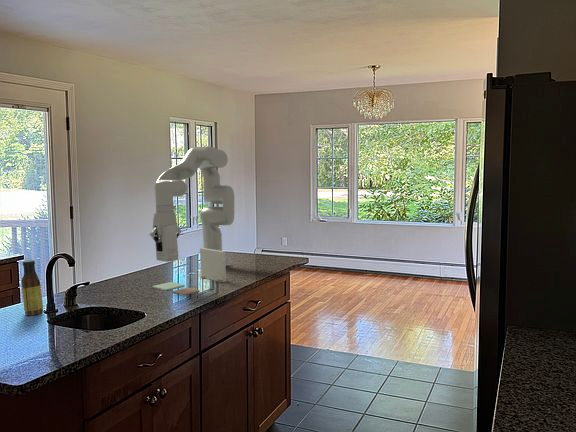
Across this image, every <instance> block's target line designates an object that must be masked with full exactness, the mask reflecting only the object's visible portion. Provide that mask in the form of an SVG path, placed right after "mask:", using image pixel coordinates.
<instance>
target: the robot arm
mask: <svg viewBox="0 0 576 432" xmlns="http://www.w3.org/2000/svg"><path fill="white" fill-rule="evenodd" d="M228 159H229V158H228V154H227V153H226V152H225V151H224V150H222V149H219V148H216V147H213V146H193V147H191V148H190V149H188V150H187V152H186V153H185V155H184V156H183V158H182V159H181V160H180V161H179V163H178V164H175V165H174V166H172V167H171V168H168V169H167V170H165V171H163V172H162V174H161V175H160V176H159V177H158V178H157V180H156V181H155V183H154V192H155V193H154V195H155V197H154V199H155V212H154V214H153V218H152V230H151V232H150V233H149V236H150V238H152V239H153V241H154V243H155V242H156V245H155V250H156V249H157V251H160V252H161V251H162V242H161V239H162V237H161V236H162V227H163V226H168V225H176V230H177V239H178V238H179V236H180V235H181V233H182V229H180V228H179V226H178V221H177V220H178V219H177V216H176V212H175V211H174V210H175V209H176V206H175V205H174V197H176V198H177V197H179V198H180V197H183V196H184V195H186V193H187V191H188V186H187V183H186V182H185V181H184V180H187V179H190V178H191V177H193V176H194V175H195V174H196V172H197V171H198V169H199V170H200V172H201V174H202V178H203V179H202V181H203V187H202V189H203V192H202V193H203V201H204V202H205V203H206V204H210V205H211V204H212V205H222V206H206V207H203V208H202V209H201V211H200V217H199V218H200V221H201V227H202V237H203V238H202V240H203V241H202V243H203V244H202V246H203V247H202V248H206V249H212V250H219V251H223V239H222V238H223V237H222V231H221V229H220V228H219V226H231V225H232V224H233V223H234V221H235V192H234V189H233V187H232V186H230V185H225V184H224V185H222V184H221V175H220V173H219V171H218V170H217V169H221V168H225V167H226V166H227V164H228V161H229V160H228ZM156 233H157V235H156ZM155 235H156V236H155ZM158 236H159V238H158ZM226 262H230V258H229V257H225V263H226Z"/></svg>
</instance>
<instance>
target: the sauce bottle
mask: <svg viewBox="0 0 576 432" xmlns="http://www.w3.org/2000/svg"><path fill="white" fill-rule="evenodd" d="M35 264H36V261H35V260H34V259H28V260H22V266H23V277H22V279H21V289H22V290H21V291H22V292H21V293H22V300H23V309H24V314H25V316H36V314H38V315H40V314H43V312H44V310H43V309H44V304H43V295H42V293H43V292H42V287H41V286H42V285H41V281H40V278H39V276H38V274H37V272H36V268H35V267H36V266H35Z"/></svg>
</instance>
